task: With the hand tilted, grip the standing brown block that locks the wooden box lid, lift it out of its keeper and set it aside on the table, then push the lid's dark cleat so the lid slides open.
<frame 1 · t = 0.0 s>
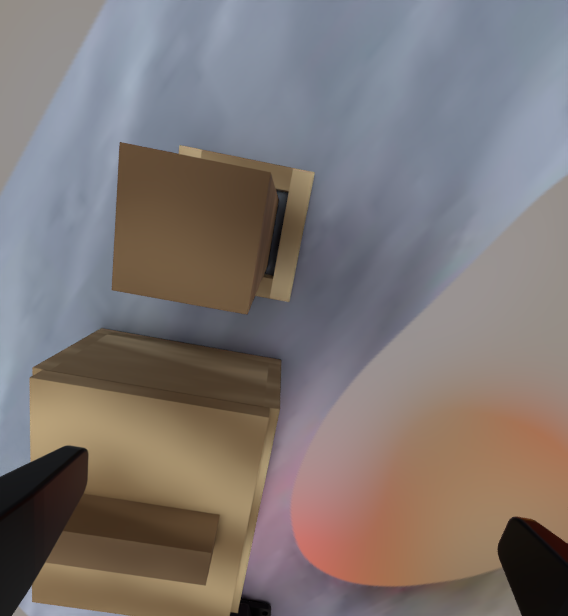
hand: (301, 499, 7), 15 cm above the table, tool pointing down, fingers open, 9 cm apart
lid: (134, 528, 16), point 7 cm above the table, slide at 0.0 cm
wooden box: (181, 434, 23), on the table
brown block: (240, 227, 20), resting in wooden box
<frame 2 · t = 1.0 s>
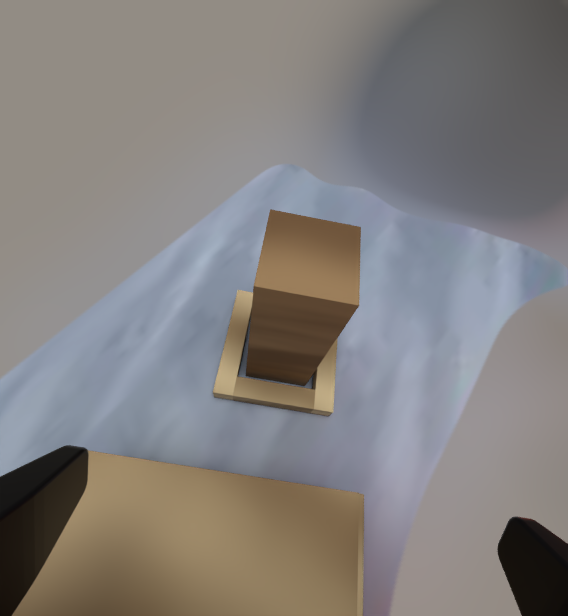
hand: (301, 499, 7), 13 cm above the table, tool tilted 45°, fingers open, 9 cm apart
brown block: (279, 353, 23), resting in wooden box
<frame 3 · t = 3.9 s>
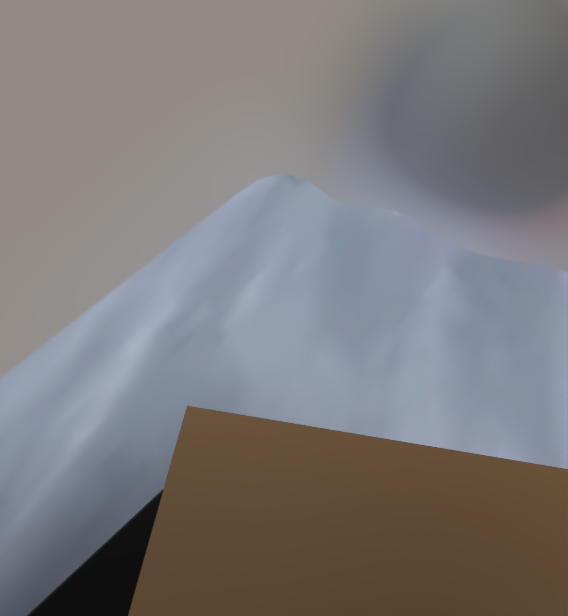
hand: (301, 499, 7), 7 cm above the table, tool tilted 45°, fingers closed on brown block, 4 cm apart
brown block: (265, 540, 12), resting in wooden box, touching gripper
when the fingers open (7 cm above the table, at t = 7.4 s): brown block stays where it is, on the table.
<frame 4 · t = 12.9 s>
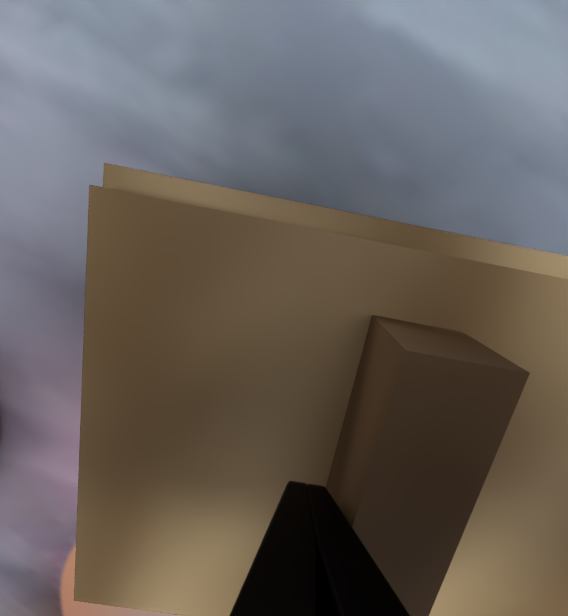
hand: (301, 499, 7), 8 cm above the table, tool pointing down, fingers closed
lid: (376, 496, 7), point 7 cm above the table, slide at 0.2 cm, touching gripper
wooden box: (326, 360, 15), on the table
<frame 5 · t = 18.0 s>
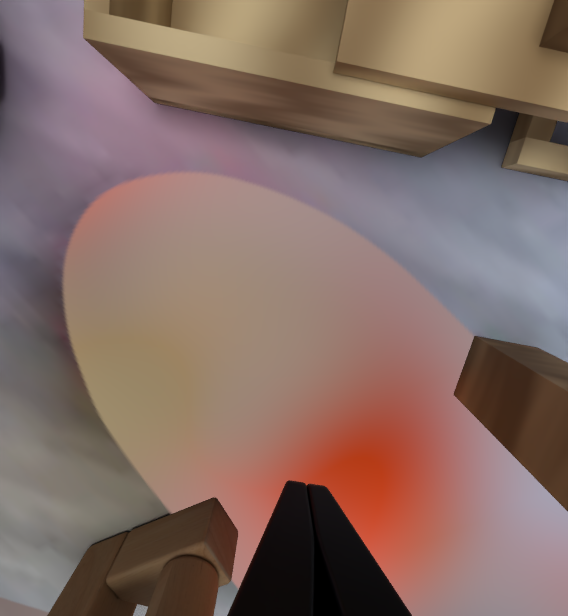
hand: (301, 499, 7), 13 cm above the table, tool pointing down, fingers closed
wooden block: (164, 535, 24), on the table
brown block: (494, 371, 20), on the table
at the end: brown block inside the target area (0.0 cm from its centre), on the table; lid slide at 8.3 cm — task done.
